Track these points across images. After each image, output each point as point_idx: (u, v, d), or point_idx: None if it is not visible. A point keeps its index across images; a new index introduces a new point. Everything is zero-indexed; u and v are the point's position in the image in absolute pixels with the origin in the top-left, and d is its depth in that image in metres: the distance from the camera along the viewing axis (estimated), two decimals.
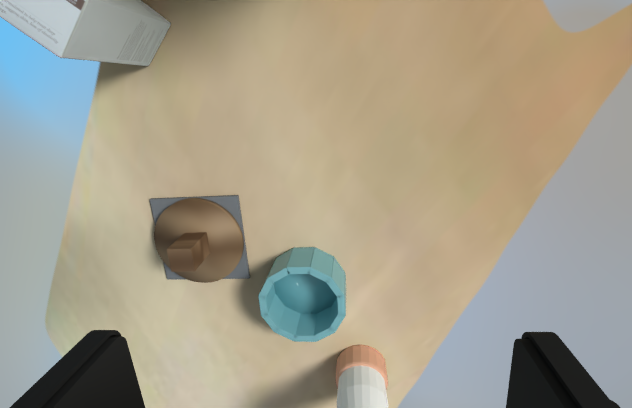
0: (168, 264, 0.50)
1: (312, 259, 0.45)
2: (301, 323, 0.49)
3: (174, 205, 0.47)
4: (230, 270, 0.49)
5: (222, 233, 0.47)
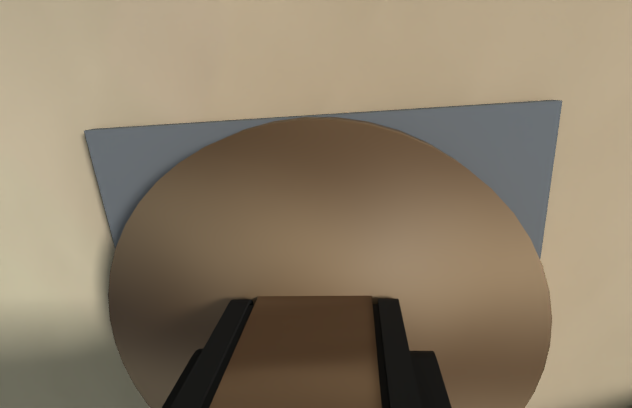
0: None
1: None
2: None
3: (210, 154, 0.09)
4: None
5: (455, 301, 0.09)
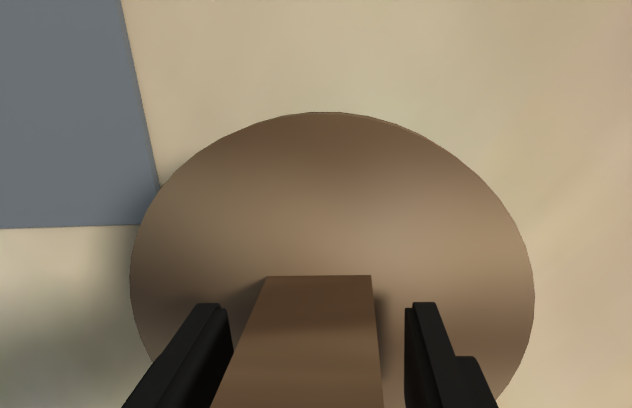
0: None
1: None
2: None
3: (225, 145, 0.09)
4: None
5: (447, 279, 0.10)
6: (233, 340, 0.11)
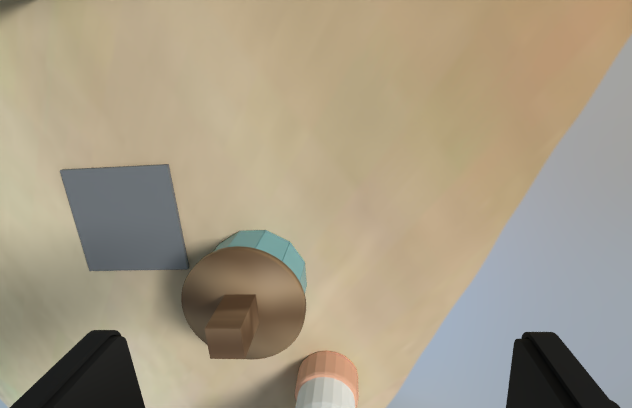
0: (200, 335, 0.36)
1: (258, 243, 0.36)
2: None
3: (211, 258, 0.33)
4: (286, 344, 0.35)
5: (277, 295, 0.34)
6: None
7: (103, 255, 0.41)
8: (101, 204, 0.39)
